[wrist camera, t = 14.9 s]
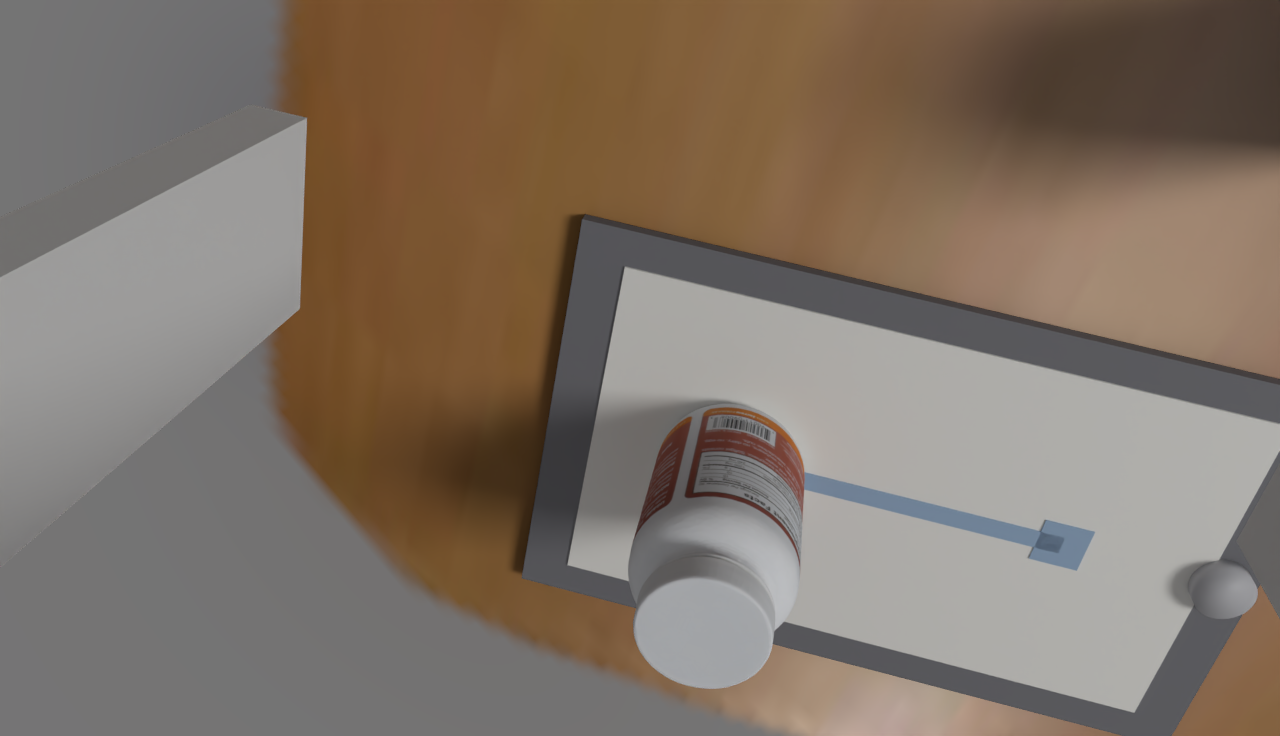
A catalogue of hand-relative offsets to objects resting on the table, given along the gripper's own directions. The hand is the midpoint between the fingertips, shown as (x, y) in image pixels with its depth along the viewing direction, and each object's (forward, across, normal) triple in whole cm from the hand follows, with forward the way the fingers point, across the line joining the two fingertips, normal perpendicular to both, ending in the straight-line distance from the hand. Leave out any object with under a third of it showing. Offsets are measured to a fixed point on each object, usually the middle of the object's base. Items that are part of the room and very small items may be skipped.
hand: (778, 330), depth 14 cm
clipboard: (+27, +8, -18) cm, 33 cm away
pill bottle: (+26, +1, -18) cm, 32 cm away
